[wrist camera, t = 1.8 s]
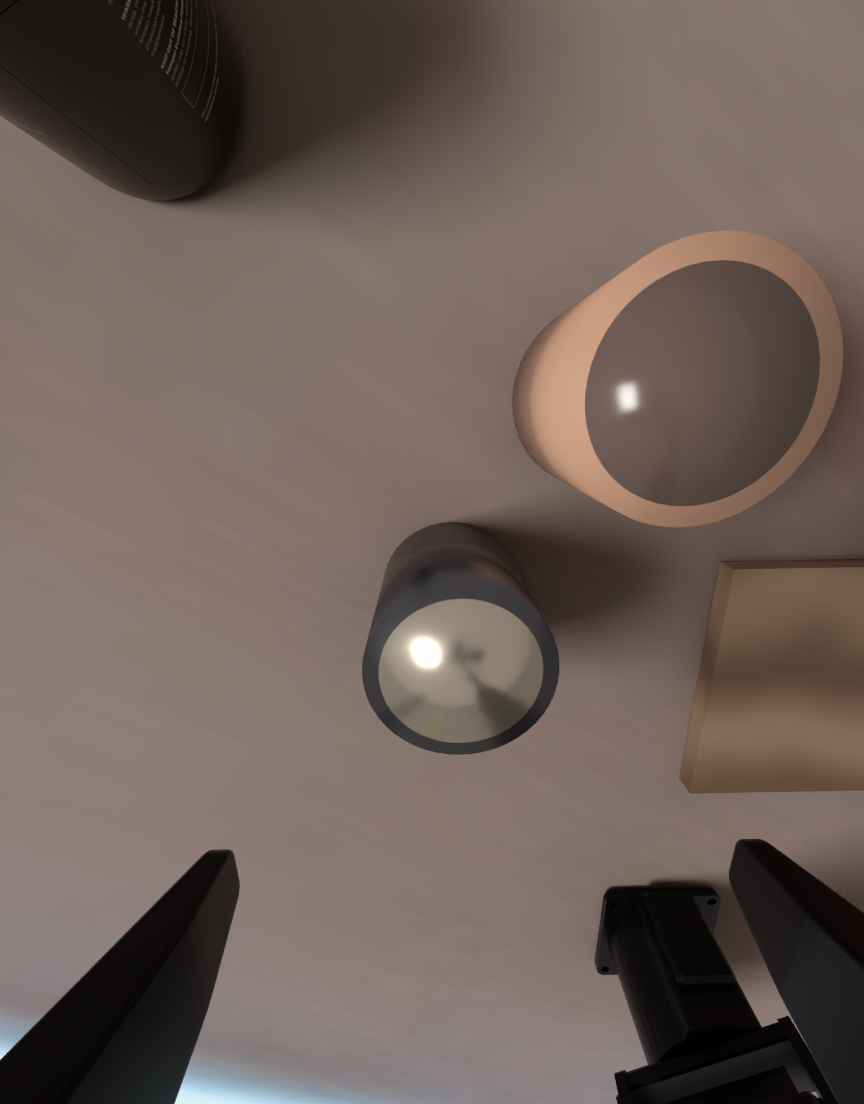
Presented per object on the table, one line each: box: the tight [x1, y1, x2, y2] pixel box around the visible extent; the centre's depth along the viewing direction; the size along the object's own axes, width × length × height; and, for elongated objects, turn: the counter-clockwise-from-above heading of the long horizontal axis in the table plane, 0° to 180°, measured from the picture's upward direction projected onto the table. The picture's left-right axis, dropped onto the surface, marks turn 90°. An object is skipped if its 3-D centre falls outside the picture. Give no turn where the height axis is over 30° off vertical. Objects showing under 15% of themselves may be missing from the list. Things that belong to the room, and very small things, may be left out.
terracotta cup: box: [512, 231, 843, 527], centre depth 15 cm, size 7×7×7 cm
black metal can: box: [362, 523, 559, 755], centre depth 17 cm, size 6×6×7 cm
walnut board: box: [680, 559, 864, 793], centre depth 22 cm, size 12×12×1 cm
